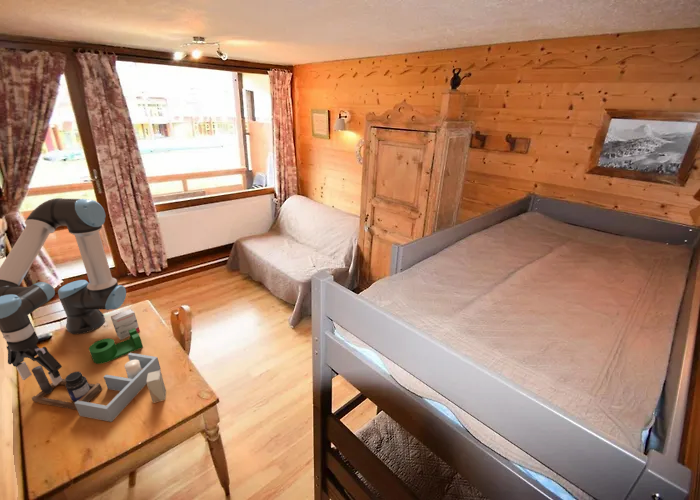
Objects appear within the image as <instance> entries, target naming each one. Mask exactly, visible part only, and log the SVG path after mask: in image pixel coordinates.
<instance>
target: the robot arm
mask: <svg viewBox="0 0 700 500" xmlns="http://www.w3.org/2000/svg"><path fill="white" fill-rule="evenodd" d="M105 222H106V212H105V209H104V207H103V206H102V205H101V203H99V202H98V201H96V200H93V199H87V198H59V197H58V198H52V199H51V198H50V199H49V200H46V201H44V202H42V203H40V204H39V205H38V206H37V207H36V208H34V210H32V211H31V212H30V213H29V215H28V216H27V218H26V220H25V221H24V225H25V227H24V229H23V231H22V232H21V234H20V235H19V236H18V239H17V240H16V242H15V243H14V245H13V246H12V248H11V250H10V251H9V253H8V255H7V256H6V258H5V259H4V260H3V262H2V264H1V265H0V332H1V335H2V338H3V339H4V340H5V341H6V344H7V345H6V349H7V364H8V365H12V366H13V367H15V368H16V370H17V372H18V374H19V376H20V377H21V380H23V381H25V380H27V379H28V378H30V377H31V376H32V374H33V373H31V372H32V371H31V370H30V369H29V367H28V365H27V363H26V361H25V359H26V358H27V359H30V360H31V361H33V362H36V363H38V364H39V366H42V368H43V369H45V370H47V371H48V372H47V374H48V376H49V378H50V380H51V383H52V382H53V385H54V386H56V385H57V384H58V383H60V382H61V381H62V379H63V377H62V376H61V373H60V371H59V370H60V369H62V368H63V366H62V364H61V363H60V362H59V361H58V360H57V359H56V358H55V357H54V356H53V355H52V354H51V352H49V350H48V348H47V347H46V346H43V347H42V348H41V347H39V346H38V345H37V344H38V342H39V337H38V335H37V332H36V331H35V328H34V325H33V323H32V321H31V319H30V318H29V315H31V314H32V313H33V312H34V311H36V310H37V309H39V308H41V307H42V306H43V305H45V304H46V303H48V302H49V301H50V300H51V299H52V298H54V296H55V294H56V291H55V288H54V286H53V285H51V284H50V283H48V282H46V281H37V282H36V283H33V284H31V285H30V286H20V285H21V284H22V282H23V280H24V279H25V277H26V275H27V274H28V271H29V270H30V268H31V267H32V266H33V263H34V261H35V260H36V258H37V256H38V255H39V253H40V251H41V250H42V247H43V245H44V244H45V243H46V241H47V239H48V237H49V235H50V234H53V233H55V231H56V230H57V228H59V227H62V226H63V227H67V231H68V233H69V234H72V235H74V237H75V241H76V244H77V247H78V249H79V253H80V257H81V260H82V263H83V267H84V269H85V272H86V275H87V278H88V281H89V282H88V281H87V280H86V279H77V280H75V281H71V282H68V283H66V284H64V285H62V286H61V287H60V288H58V290H57V295H58V299H59V301H60V303H61V306H62V308H63V310H64V312H65V315H66V325H65V327H66V328H65V329H66V331H67V332H68V333H69V334H73V335H81V334H86V333H89V332H92V331H94V330H96V329H97V328H100V327H101V326H102V325H103V324H104V323H105V321H106V318H105V314H103V312H102V311H101V310H106V311H110V310H117V309H119V308H120V307H121V306H122V305H123V304H124V303H125V299H126V297H127V289H126V287H125V286H124V285H121V284H119V283H118V279H117V278H115V277H113V276H112V273H111V272H112V271H111V269H110V266H109V262H108V257H107V256H106V255H107V254H106V252H105V249H104V245H103V241H102V238H101V234H100V231H101V230H102V229H103V225H104V224H105ZM58 385H59V384H58ZM58 385H57V386H58ZM57 386H56V387H57Z"/></svg>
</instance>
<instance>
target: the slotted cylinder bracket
mask: <svg viewBox="0 0 700 500" xmlns="http://www.w3.org/2000/svg"><path fill="white" fill-rule="evenodd" d="M129 335H130V336H129V338H127V339H124V340H121V341H119V342H117V343H116V342H115V340H114V339H112V338H102V339H98V340H97V341H95V342H94V343H93V342H92V344H91V345H90V346H89V347H88V350H89V351H88V352H89V354H90V356H91V359H92V362H93V363H95V364H98V365H101V364H106V363H109V362H111V361H113V360H115V359H118V358H120V357H123V356H126V355H128V354H129V353H133V352H136V351H138V350H139V349H143V348H144V346H143V342H142V339H141V336H140V334H139V332H137V331H136V329H135V328H134V329H131V330H129Z"/></svg>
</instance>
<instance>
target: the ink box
mask: <svg viewBox="0 0 700 500" xmlns="http://www.w3.org/2000/svg"><path fill="white" fill-rule="evenodd" d="M110 319H111V322H112V325H113V328H114V330H115V333H116V337H117V338H118V339H119V340H121V341H123V340H125V339H126V338H128V337H129V338H130V335H129V330H131V329H134V328H135V329H136V331H137V333H139V332H141V330H140V327H139V323H138V319H137V315H136V312H135V311H134V310H133V309H131V308H129V309H126V310H124V311H122V312H121V311H120V312H118V313H115V314H113V315H111V316H110Z"/></svg>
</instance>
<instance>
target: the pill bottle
mask: <svg viewBox="0 0 700 500" xmlns="http://www.w3.org/2000/svg"><path fill="white" fill-rule="evenodd" d="M64 379H65V380H66V382H67V383H66V385H65V388H66V391H67V394H68V395H69V397H70V400H71V403H75V402H76V401H77V400H79V399H80V398H81V397H83V396H84V395H85V394H86V393H87V392H88V391H89V390H90V386H89V384H88V383H89V382H88V379H87V377H86V376H85V375H83V374H82V372H81V371H73V372H70V373H69V374H67V375H66V376H65V378H64Z"/></svg>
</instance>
